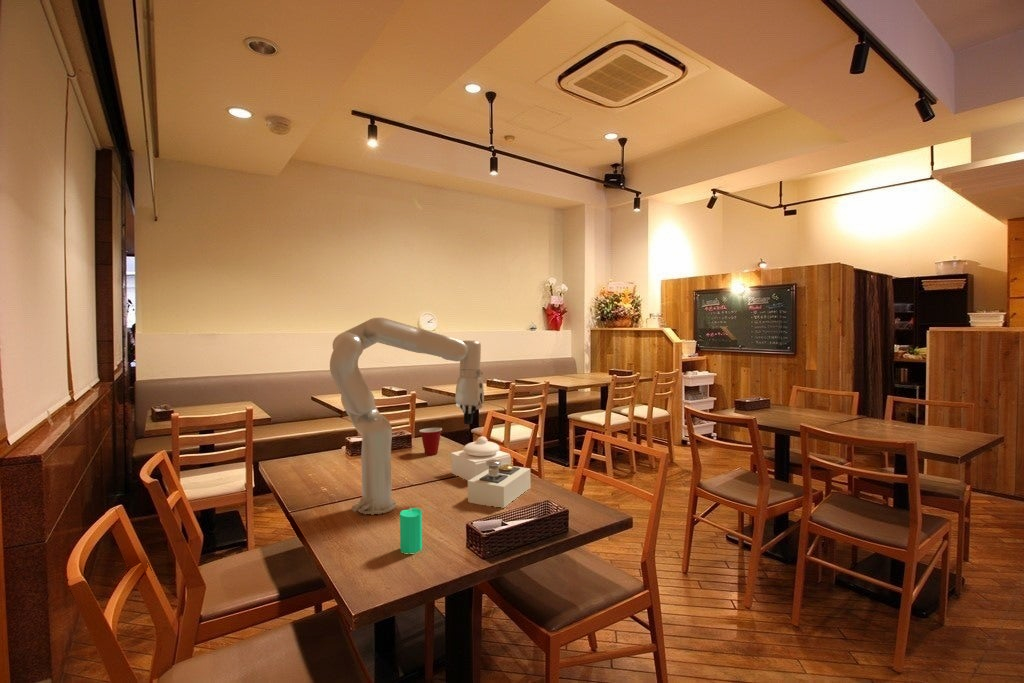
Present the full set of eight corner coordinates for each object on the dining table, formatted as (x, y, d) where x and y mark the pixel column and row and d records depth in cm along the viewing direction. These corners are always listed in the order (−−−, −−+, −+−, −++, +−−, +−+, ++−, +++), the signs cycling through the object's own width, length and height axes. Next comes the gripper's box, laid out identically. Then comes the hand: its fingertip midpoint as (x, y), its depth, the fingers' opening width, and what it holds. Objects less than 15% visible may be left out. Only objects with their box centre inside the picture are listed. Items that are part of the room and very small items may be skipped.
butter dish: (475, 485, 184) (475, 444, 184) (450, 474, 198) (450, 435, 197) (511, 475, 196) (510, 437, 195) (484, 465, 209) (484, 429, 209)
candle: (423, 544, 135) (423, 502, 134) (420, 554, 129) (420, 510, 128) (402, 544, 135) (401, 502, 134) (398, 555, 129) (397, 511, 128)
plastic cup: (435, 449, 236) (434, 425, 235) (446, 454, 228) (446, 429, 227) (415, 453, 229) (414, 428, 228) (426, 458, 221) (426, 432, 220)
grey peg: (496, 487, 165) (496, 464, 165) (483, 485, 167) (483, 462, 167) (503, 483, 170) (503, 460, 169) (490, 480, 172) (490, 458, 172)
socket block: (503, 508, 160) (503, 485, 160) (467, 502, 166) (467, 479, 166) (530, 488, 180) (530, 467, 180) (497, 483, 186) (497, 462, 186)
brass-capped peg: (509, 491, 174) (509, 469, 174) (497, 489, 176) (497, 467, 176) (516, 486, 179) (515, 465, 178) (503, 484, 181) (503, 463, 181)
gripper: (492, 374, 176) (491, 424, 177) (458, 372, 183) (457, 420, 184) (482, 376, 170) (480, 427, 170) (447, 373, 177) (445, 423, 177)
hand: (468, 423), depth 177 cm, fingers closed
